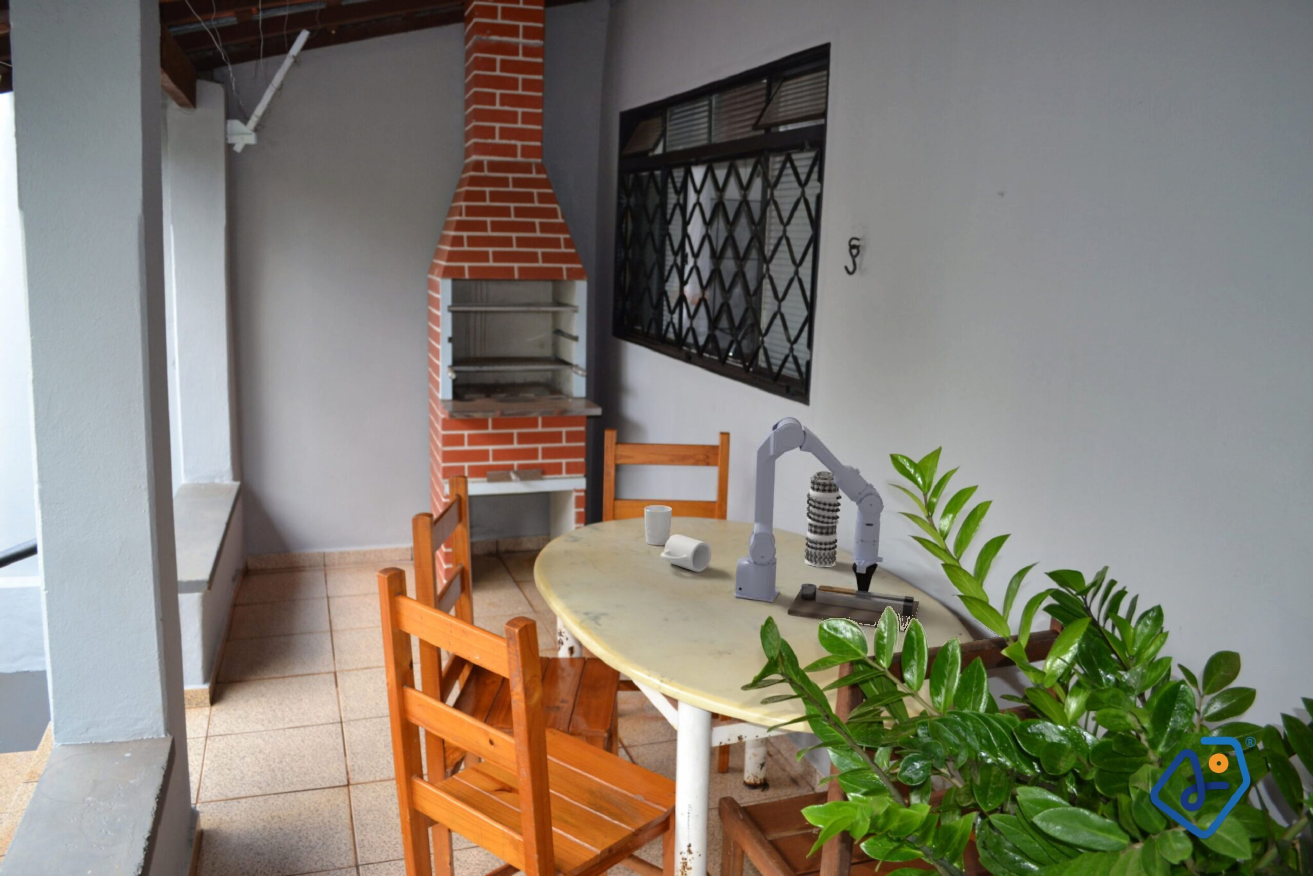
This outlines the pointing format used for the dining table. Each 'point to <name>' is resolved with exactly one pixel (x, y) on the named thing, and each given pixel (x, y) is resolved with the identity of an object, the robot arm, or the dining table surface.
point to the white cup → (657, 524)
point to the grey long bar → (863, 602)
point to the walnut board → (840, 611)
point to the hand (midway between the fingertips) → (863, 593)
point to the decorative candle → (822, 520)
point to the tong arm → (810, 593)
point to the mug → (687, 552)
